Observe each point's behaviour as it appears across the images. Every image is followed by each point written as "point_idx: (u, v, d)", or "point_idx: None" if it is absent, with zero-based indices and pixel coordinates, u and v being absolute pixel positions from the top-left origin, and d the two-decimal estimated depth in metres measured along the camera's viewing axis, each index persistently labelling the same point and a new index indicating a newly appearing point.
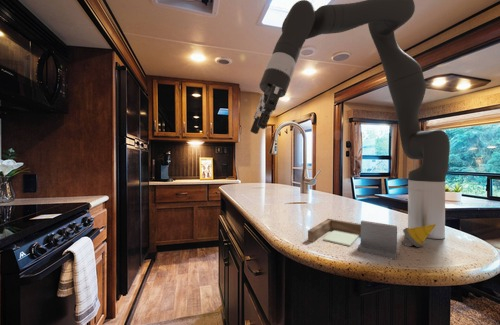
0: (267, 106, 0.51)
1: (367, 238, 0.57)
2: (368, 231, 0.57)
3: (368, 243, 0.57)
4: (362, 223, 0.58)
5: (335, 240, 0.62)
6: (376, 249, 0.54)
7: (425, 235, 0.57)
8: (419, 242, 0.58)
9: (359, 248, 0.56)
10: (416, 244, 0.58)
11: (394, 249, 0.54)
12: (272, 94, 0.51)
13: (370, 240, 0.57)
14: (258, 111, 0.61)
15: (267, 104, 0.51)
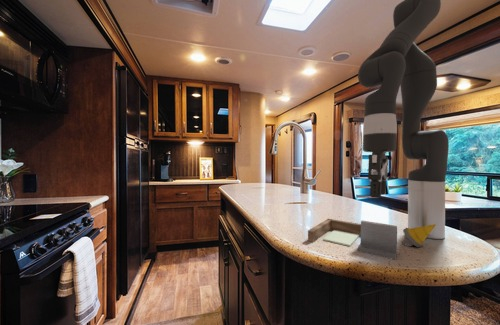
0: (370, 178, 0.51)
1: (367, 238, 0.57)
2: (368, 231, 0.57)
3: (368, 243, 0.57)
4: (362, 223, 0.58)
5: (335, 240, 0.62)
6: (376, 249, 0.54)
7: (425, 235, 0.57)
8: (419, 242, 0.58)
9: (359, 248, 0.56)
10: (416, 244, 0.58)
11: (394, 249, 0.54)
12: (371, 165, 0.51)
13: (370, 240, 0.57)
14: None
15: (369, 176, 0.51)
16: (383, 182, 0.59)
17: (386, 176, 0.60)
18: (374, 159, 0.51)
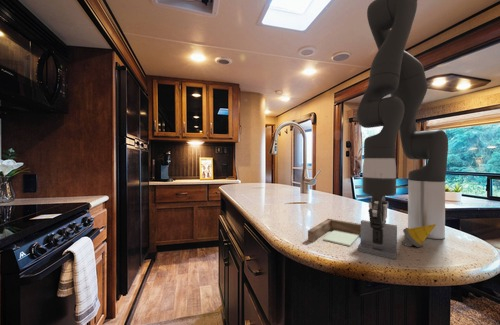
0: (372, 227, 0.54)
1: (366, 238, 0.57)
2: (368, 231, 0.57)
3: (368, 242, 0.57)
4: (362, 222, 0.58)
5: (335, 240, 0.62)
6: (376, 249, 0.54)
7: (425, 235, 0.57)
8: (419, 242, 0.58)
9: (359, 248, 0.56)
10: (416, 244, 0.58)
11: (394, 248, 0.53)
12: (372, 219, 0.53)
13: (370, 239, 0.57)
14: None
15: (372, 225, 0.54)
16: None
17: (384, 221, 0.58)
18: (374, 215, 0.52)
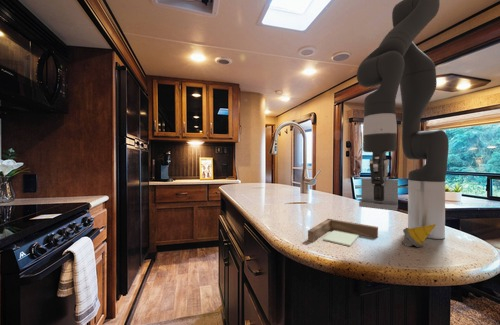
0: (374, 183, 0.54)
1: (367, 194, 0.57)
2: (369, 188, 0.57)
3: (369, 199, 0.57)
4: (363, 180, 0.58)
5: (335, 240, 0.62)
6: (377, 203, 0.54)
7: (425, 235, 0.57)
8: (419, 242, 0.58)
9: (360, 203, 0.56)
10: (416, 244, 0.58)
11: (395, 202, 0.54)
12: (373, 174, 0.53)
13: (371, 196, 0.57)
14: None
15: (373, 181, 0.54)
16: None
17: None
18: (375, 169, 0.52)
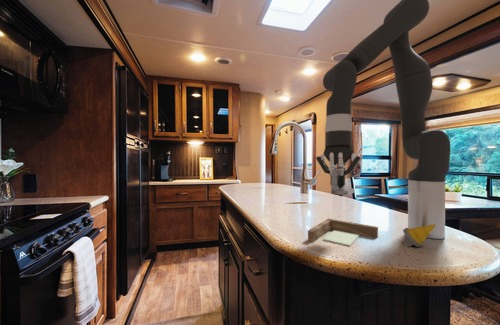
0: (349, 173, 0.63)
1: (338, 184, 0.63)
2: (338, 178, 0.64)
3: (338, 188, 0.64)
4: (337, 171, 0.63)
5: (335, 240, 0.62)
6: (348, 189, 0.64)
7: (425, 235, 0.57)
8: (419, 242, 0.58)
9: (348, 192, 0.61)
10: (416, 244, 0.58)
11: (343, 187, 0.68)
12: (355, 165, 0.62)
13: (339, 185, 0.64)
14: (334, 166, 0.66)
15: (350, 171, 0.63)
16: None
17: None
18: (359, 161, 0.62)
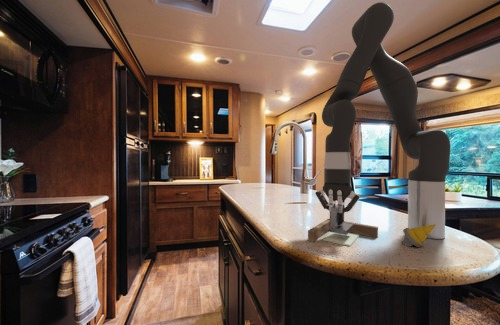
0: None
1: (337, 222, 0.64)
2: (337, 215, 0.64)
3: (337, 225, 0.64)
4: (336, 209, 0.63)
5: (335, 240, 0.62)
6: (347, 226, 0.64)
7: (425, 235, 0.57)
8: (419, 242, 0.58)
9: (346, 232, 0.61)
10: (416, 244, 0.58)
11: None
12: (354, 203, 0.63)
13: (338, 222, 0.64)
14: (333, 202, 0.66)
15: (349, 209, 0.63)
16: None
17: None
18: (358, 199, 0.63)
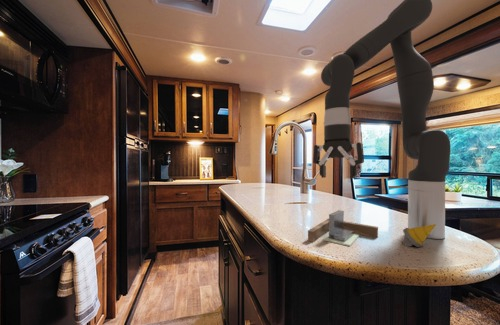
0: (362, 162, 0.61)
1: (336, 228, 0.64)
2: (336, 222, 0.64)
3: (336, 232, 0.64)
4: (334, 216, 0.63)
5: (335, 240, 0.62)
6: (346, 233, 0.64)
7: (425, 235, 0.57)
8: (419, 242, 0.58)
9: (345, 239, 0.61)
10: (416, 244, 0.58)
11: (343, 228, 0.68)
12: (362, 151, 0.61)
13: (337, 228, 0.65)
14: (326, 158, 0.67)
15: (362, 161, 0.61)
16: (325, 167, 0.69)
17: None
18: (362, 146, 0.62)
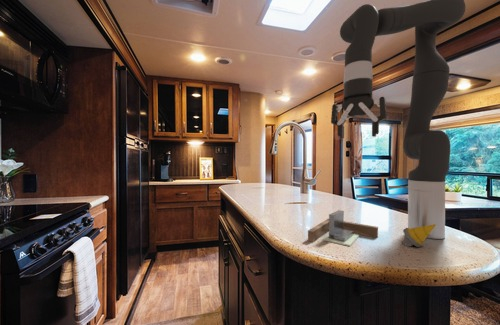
0: (385, 117, 0.58)
1: (336, 228, 0.64)
2: (336, 222, 0.64)
3: (336, 232, 0.64)
4: (334, 216, 0.63)
5: (335, 240, 0.62)
6: (346, 233, 0.64)
7: (425, 235, 0.57)
8: (419, 242, 0.58)
9: (345, 239, 0.61)
10: (416, 244, 0.58)
11: (343, 228, 0.68)
12: (385, 106, 0.58)
13: (337, 228, 0.65)
14: (345, 117, 0.64)
15: (385, 116, 0.58)
16: (343, 127, 0.66)
17: None
18: (385, 101, 0.59)
